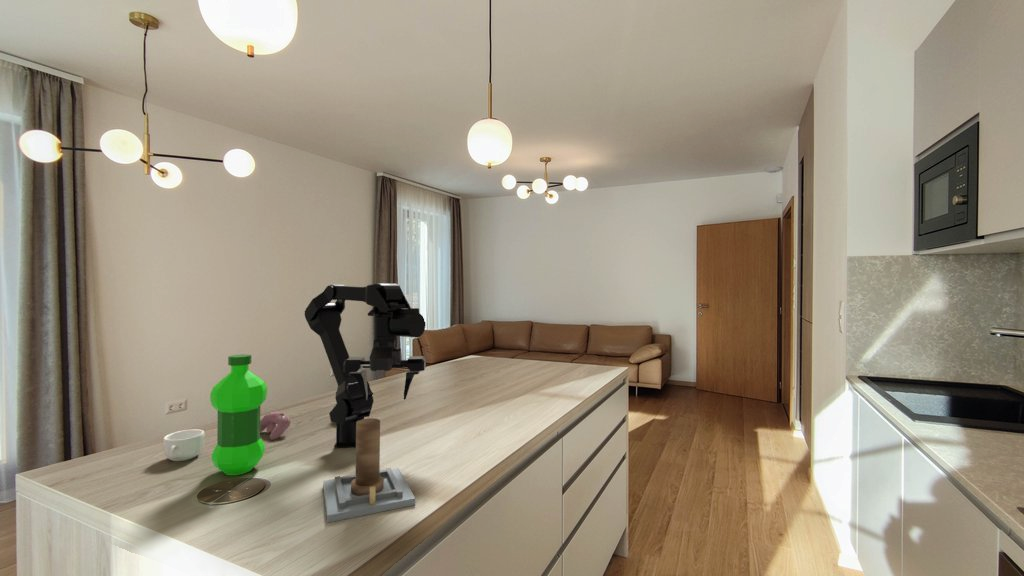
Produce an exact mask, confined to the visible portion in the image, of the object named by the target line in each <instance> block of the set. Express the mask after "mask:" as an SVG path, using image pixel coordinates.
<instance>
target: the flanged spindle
mask: <svg viewBox="0 0 1024 576" xmlns="http://www.w3.org/2000/svg"><path fill="white" fill-rule="evenodd" d="M380 450H381V420H380V419H378V418H373V417H372V418H368V417H367V418H364V419H362V420H359V421H357V422H356V447H355V474H356V478H355V479H354V480H352V482H351V493H352V494H353V495H356V496H362V495H367V494H370V487H372V486H374V487H375V493H378V492H380V491H382V490H383V488H384V479H383V477H382V476H379V472H380V466H381V464H380V460H381V457H380V456H381V455H380V454H381V453H380V452H381V451H380Z"/></svg>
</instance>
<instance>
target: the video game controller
mask: <svg viewBox="0 0 1024 576" xmlns="http://www.w3.org/2000/svg"><path fill="white" fill-rule="evenodd" d="M290 425H291V418H290V417H288V416H287V415H286V414H285V413H284V412H281V411H272V412H270V411H268V412H267V414H264V416H263V417H262V418H261V419H260V433H262V432H263V431H264V430H266V432H267V433H269V434H270V435H269V439H270V440H271V441H274V440H277V439H278V438H280V437H281V436H282V435H283V434H284V433H285V432H286V430H287V429H288V428H289V426H290Z"/></svg>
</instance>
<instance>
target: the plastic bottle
mask: <svg viewBox="0 0 1024 576" xmlns="http://www.w3.org/2000/svg"><path fill="white" fill-rule="evenodd" d="M227 360H228V361H227V365H228V366H230V372H229V373H228V374H227V375H226V376H224V377H223V378H222V379H221V380H220V381H219V382H217V383H216V384H215V385H214V386H213V387H212V389H211V392H210V403H211V404H210V405H211V406H212V407H213V408H214V409H215V410H216V411H217V436H216V437H217V443H216V446H215V447H214V449H213V452H212V454H211V462H212V463H213V466H214V467H216V469H218V470H220V471H221V472H223V474H225V475H227V476H239V475H243V474H246V473H248V472H250V471H252V470H253V468H254V467H256V466H257V465H258V464H259V462H260V461H261V459H262V458H263V456H264V455H265V452H266V446H265V443H264V441H263V438H262V437H261V432H260V421H261V405H262V404H263V403H264V402H265V400H267V395H268V386H267V384H266V382H265V381H264V380H263V379H261V378H260V377H258V376H257V375H255V374H254V373H253V372H251V371H250V370H249V365H251V364H252V354H250V353H249V354H247V353H245V354H234V355H229V356H228V359H227Z"/></svg>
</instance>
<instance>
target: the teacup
mask: <svg viewBox="0 0 1024 576" xmlns="http://www.w3.org/2000/svg"><path fill="white" fill-rule="evenodd" d="M162 443H163V444H162V445H163V452H164V455H165V457H167V459H168V460H170V461H172V462H183V461H189V460H191V459H193V458H195V457H197V456H198V455H199V454H200V453H201V452H202V450H203V448H204V446H205V445H204V444H205V430H203V429H195V428H194V429H183V430H178V431H175V432H172V433H168V434H167V435H165V436H164V437H163V440H162Z"/></svg>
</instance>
